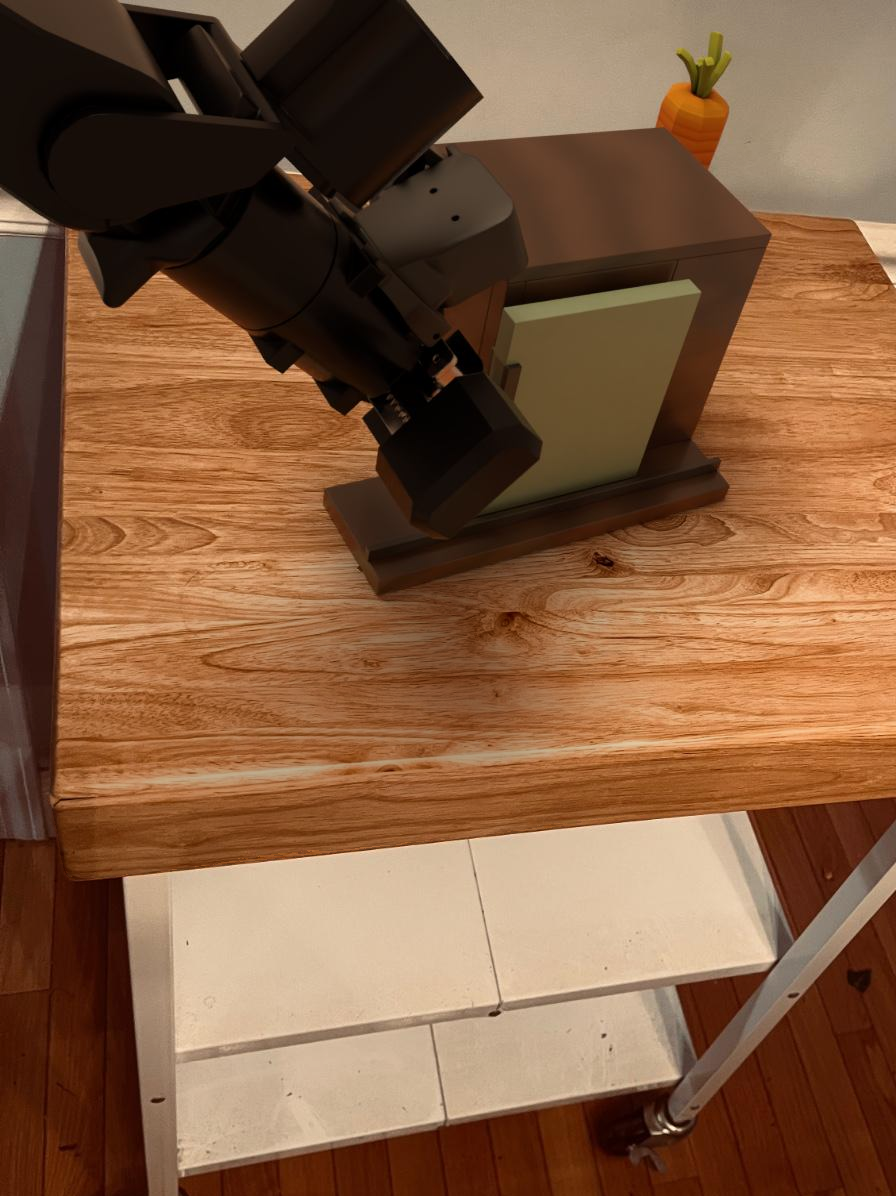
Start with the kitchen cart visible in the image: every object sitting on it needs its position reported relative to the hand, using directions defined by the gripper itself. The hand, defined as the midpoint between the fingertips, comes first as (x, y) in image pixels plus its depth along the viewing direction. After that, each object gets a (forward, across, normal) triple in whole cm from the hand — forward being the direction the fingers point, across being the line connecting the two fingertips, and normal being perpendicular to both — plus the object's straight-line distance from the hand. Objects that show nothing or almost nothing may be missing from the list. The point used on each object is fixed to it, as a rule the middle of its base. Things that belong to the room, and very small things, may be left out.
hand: (479, 424), depth 60 cm
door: (+9, 0, 0) cm, 9 cm away
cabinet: (+9, +4, +2) cm, 10 cm away
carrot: (+26, +23, -15) cm, 38 cm away
